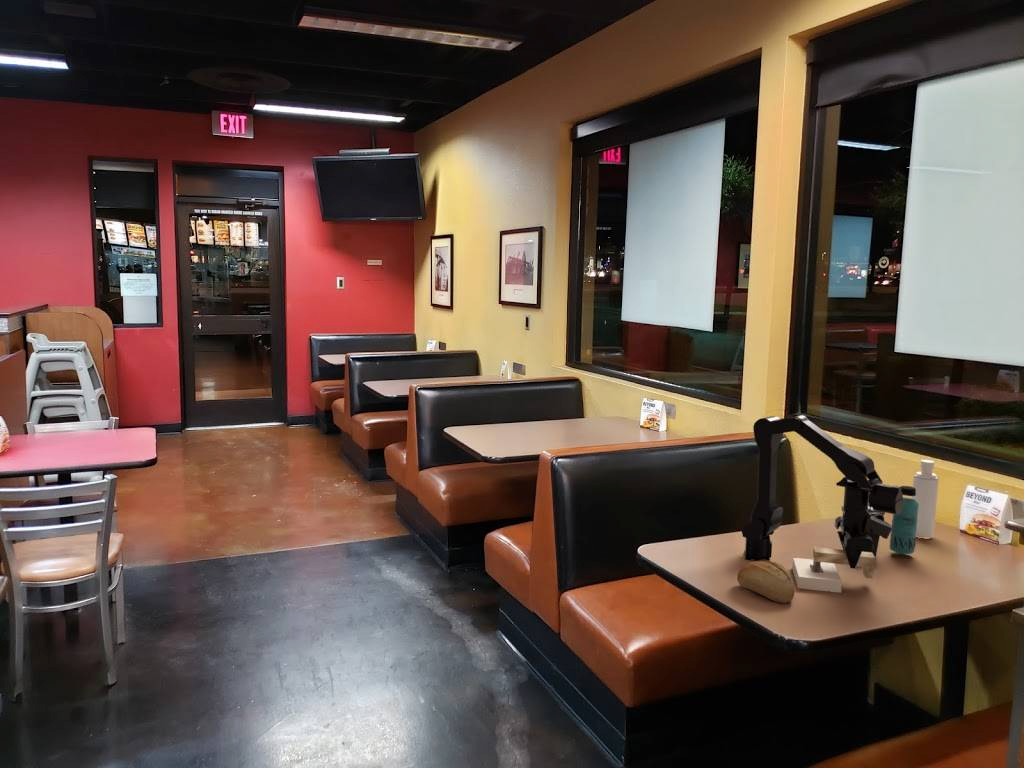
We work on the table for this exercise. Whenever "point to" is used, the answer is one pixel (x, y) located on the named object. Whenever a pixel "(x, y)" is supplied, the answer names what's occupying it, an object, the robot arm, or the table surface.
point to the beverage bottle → (905, 524)
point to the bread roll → (767, 580)
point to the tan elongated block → (842, 559)
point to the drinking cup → (873, 535)
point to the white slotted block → (816, 576)
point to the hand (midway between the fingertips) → (851, 565)
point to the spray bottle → (926, 498)
